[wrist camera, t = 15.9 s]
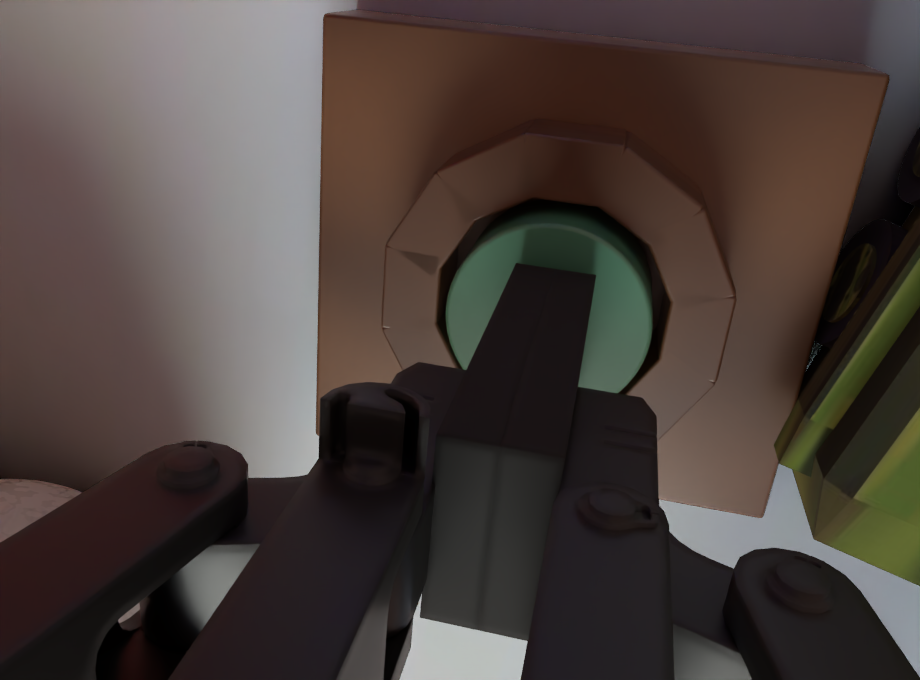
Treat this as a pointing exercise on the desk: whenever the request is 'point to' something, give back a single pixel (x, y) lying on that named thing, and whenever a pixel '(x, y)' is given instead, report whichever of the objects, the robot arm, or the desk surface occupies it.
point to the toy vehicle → (866, 397)
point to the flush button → (572, 249)
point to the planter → (33, 508)
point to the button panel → (603, 186)
